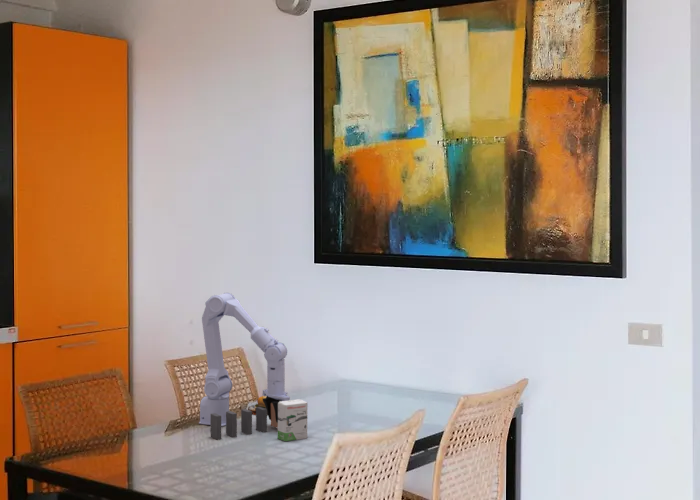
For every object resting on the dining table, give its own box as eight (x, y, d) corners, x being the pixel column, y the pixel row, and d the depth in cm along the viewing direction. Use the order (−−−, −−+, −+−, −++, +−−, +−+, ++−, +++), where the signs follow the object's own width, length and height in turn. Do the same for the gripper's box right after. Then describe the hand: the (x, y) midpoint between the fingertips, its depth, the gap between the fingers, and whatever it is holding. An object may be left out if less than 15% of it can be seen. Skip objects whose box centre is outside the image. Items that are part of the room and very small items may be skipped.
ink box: (284, 441, 294) (284, 404, 294) (276, 438, 299) (276, 401, 298) (308, 438, 299) (308, 401, 299) (300, 434, 303) (300, 398, 303)
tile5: (216, 439, 297) (216, 416, 296) (210, 436, 300) (210, 413, 300) (221, 439, 298) (221, 415, 297) (215, 436, 301) (215, 413, 301)
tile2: (262, 432, 306) (262, 409, 306) (256, 429, 310) (256, 407, 309) (266, 431, 307) (266, 409, 306) (260, 429, 310) (260, 406, 310)
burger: (287, 411, 338) (287, 390, 337) (267, 417, 328) (267, 396, 327) (261, 407, 344) (261, 387, 344) (240, 413, 334) (240, 392, 334)
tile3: (247, 435, 303) (247, 412, 302) (241, 432, 306) (241, 409, 306) (252, 434, 304) (252, 411, 303) (245, 431, 307) (245, 408, 307)
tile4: (232, 437, 300) (232, 414, 299) (226, 434, 303) (226, 411, 303) (236, 436, 301) (236, 413, 300) (230, 433, 304) (230, 410, 304)
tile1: (277, 428, 309) (277, 405, 309) (270, 425, 313) (270, 403, 312) (281, 427, 310) (281, 404, 310) (274, 424, 314) (274, 402, 313)
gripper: (297, 382, 307) (297, 423, 307) (275, 375, 319) (275, 414, 319) (279, 384, 303) (279, 426, 303) (257, 377, 315) (257, 417, 315)
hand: (276, 420), depth 311 cm, fingers closed on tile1, 4 cm apart
